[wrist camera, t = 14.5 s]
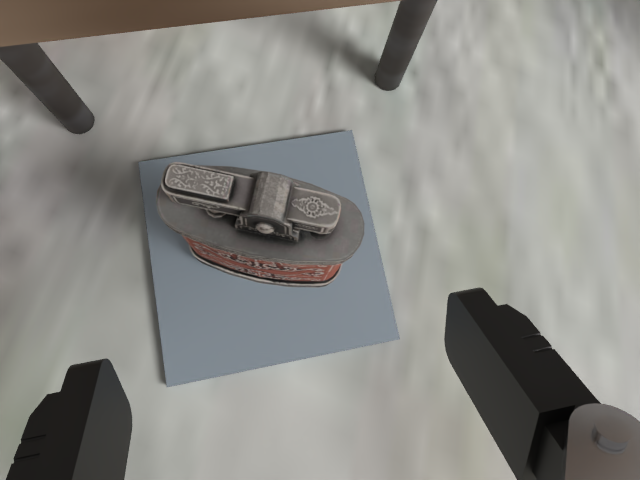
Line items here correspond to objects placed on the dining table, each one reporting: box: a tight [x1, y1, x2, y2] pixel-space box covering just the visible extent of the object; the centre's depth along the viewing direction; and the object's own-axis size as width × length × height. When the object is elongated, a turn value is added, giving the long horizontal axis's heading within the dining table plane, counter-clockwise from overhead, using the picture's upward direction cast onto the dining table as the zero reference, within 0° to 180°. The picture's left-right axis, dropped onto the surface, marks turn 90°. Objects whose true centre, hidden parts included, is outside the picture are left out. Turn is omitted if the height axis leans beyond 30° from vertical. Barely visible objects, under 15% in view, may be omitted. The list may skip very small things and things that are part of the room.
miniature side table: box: [0, 0, 437, 134], centre depth 17 cm, size 20×11×22 cm, turn 101°
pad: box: [138, 130, 400, 387], centre depth 26 cm, size 12×12×1 cm
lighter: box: [156, 162, 365, 288], centre depth 21 cm, size 8×3×10 cm, turn 79°
